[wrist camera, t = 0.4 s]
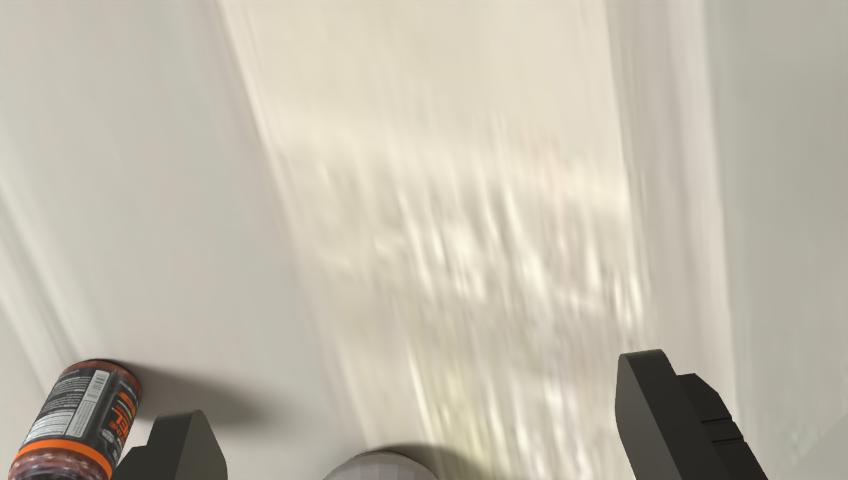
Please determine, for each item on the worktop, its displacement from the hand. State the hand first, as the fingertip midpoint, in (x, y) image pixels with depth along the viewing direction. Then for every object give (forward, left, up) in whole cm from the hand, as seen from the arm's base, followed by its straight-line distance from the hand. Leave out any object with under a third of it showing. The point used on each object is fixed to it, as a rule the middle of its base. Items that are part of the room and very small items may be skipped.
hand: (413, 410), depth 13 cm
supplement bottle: (+31, -14, -28) cm, 44 cm away
